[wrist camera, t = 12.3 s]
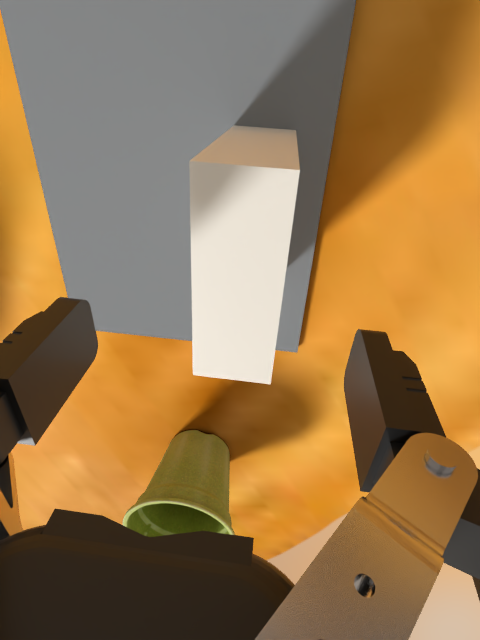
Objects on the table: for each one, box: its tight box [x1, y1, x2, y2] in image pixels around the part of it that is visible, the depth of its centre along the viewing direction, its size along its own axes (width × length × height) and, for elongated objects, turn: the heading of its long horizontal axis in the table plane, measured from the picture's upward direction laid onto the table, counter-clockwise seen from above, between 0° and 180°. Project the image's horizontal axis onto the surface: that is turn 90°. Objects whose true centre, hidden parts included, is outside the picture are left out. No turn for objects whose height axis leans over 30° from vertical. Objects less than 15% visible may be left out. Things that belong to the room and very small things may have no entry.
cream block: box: [189, 125, 300, 384], centre depth 19 cm, size 9×4×11 cm, turn 177°
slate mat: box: [0, 0, 356, 352], centre depth 24 cm, size 22×18×1 cm
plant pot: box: [123, 430, 235, 537], centre depth 34 cm, size 9×9×9 cm
